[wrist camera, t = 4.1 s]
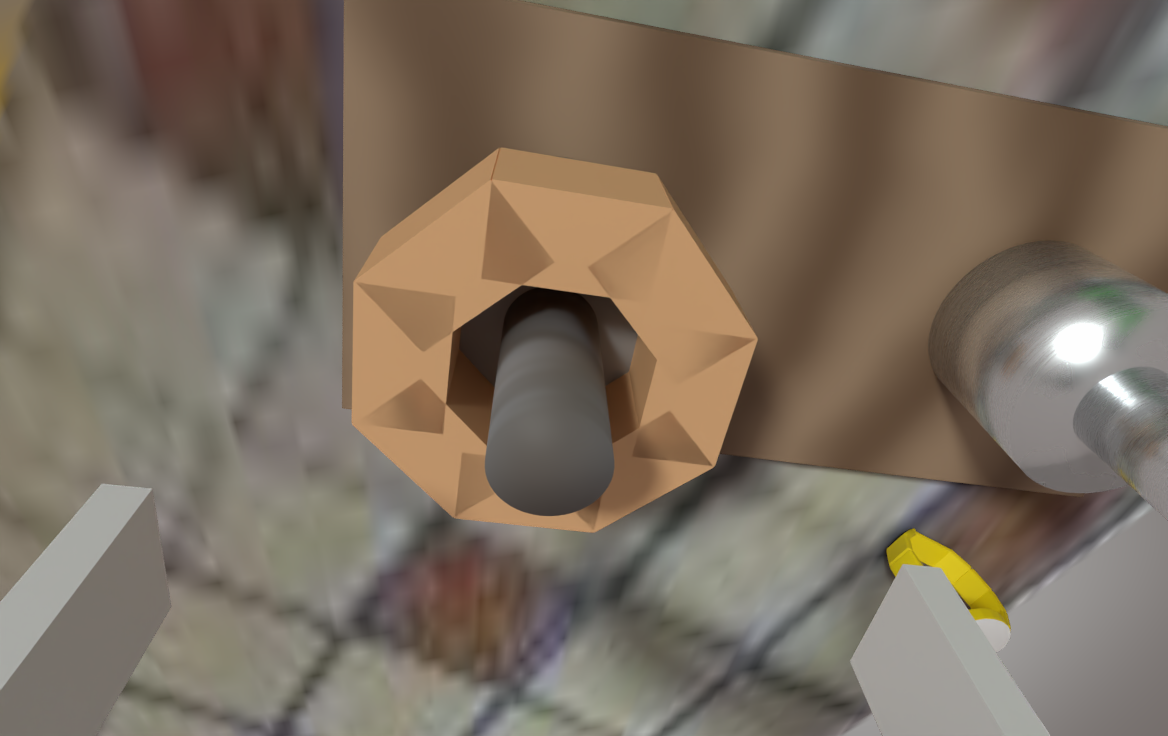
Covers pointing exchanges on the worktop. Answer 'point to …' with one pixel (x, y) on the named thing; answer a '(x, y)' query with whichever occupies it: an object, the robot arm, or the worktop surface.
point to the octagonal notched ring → (561, 262)
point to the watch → (955, 582)
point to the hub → (1062, 367)
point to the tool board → (736, 223)
